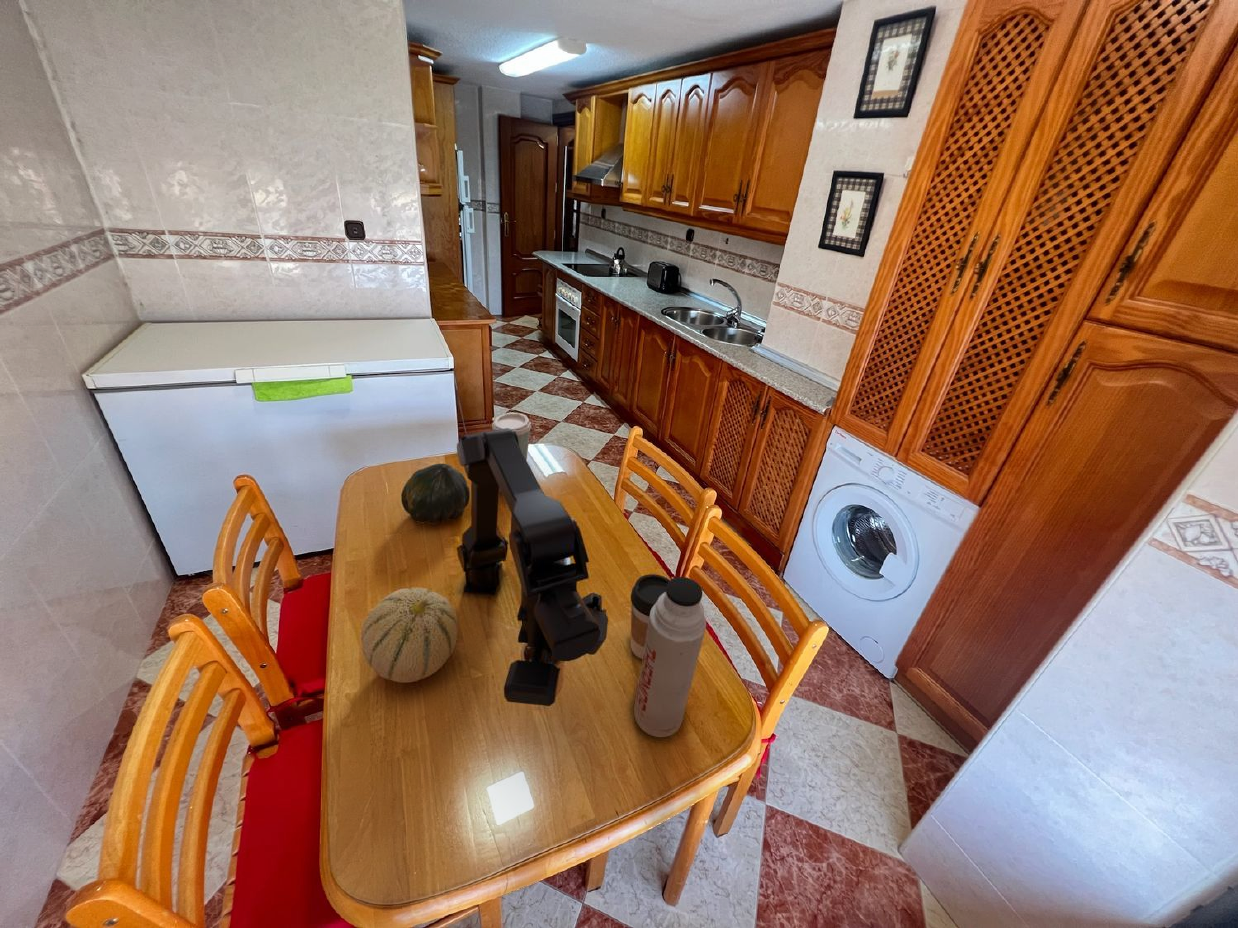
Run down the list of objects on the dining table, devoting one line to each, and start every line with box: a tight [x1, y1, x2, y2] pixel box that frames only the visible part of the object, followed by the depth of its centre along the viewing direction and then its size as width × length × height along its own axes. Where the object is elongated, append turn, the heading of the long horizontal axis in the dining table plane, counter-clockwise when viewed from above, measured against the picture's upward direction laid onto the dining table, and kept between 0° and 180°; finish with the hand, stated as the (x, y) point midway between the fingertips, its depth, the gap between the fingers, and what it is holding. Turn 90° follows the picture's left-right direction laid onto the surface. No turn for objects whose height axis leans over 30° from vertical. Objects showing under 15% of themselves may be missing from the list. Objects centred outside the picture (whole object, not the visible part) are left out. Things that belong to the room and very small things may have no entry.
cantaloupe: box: [360, 586, 459, 683], centre depth 81 cm, size 15×15×15 cm
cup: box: [520, 643, 566, 698], centre depth 71 cm, size 6×6×7 cm
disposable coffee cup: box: [491, 411, 532, 461], centre depth 138 cm, size 11×11×15 cm
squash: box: [400, 463, 471, 525], centre depth 117 cm, size 14×15×15 cm
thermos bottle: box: [633, 576, 707, 738], centre depth 74 cm, size 8×8×28 cm
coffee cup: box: [630, 573, 671, 660], centre depth 88 cm, size 8×8×15 cm
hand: (542, 674), depth 71 cm, fingers closed on cup, 6 cm apart
